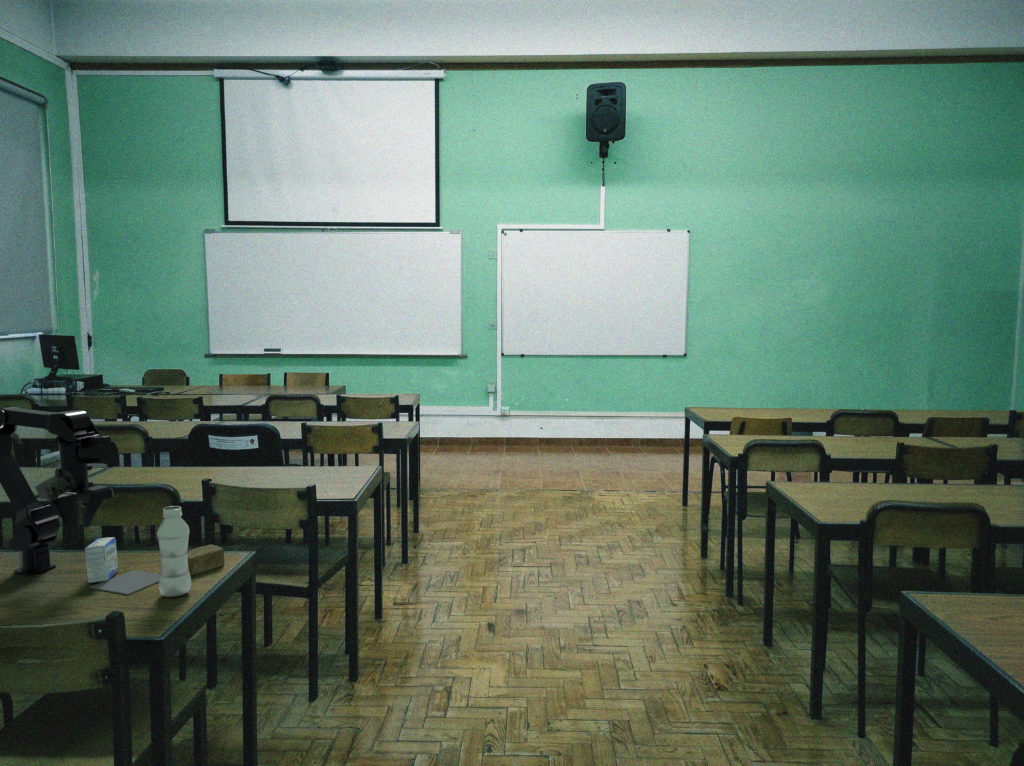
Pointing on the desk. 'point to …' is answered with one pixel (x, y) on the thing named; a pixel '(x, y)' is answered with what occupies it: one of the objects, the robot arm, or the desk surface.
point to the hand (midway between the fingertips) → (77, 525)
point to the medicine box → (101, 559)
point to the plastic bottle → (173, 553)
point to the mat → (128, 582)
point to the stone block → (205, 558)
